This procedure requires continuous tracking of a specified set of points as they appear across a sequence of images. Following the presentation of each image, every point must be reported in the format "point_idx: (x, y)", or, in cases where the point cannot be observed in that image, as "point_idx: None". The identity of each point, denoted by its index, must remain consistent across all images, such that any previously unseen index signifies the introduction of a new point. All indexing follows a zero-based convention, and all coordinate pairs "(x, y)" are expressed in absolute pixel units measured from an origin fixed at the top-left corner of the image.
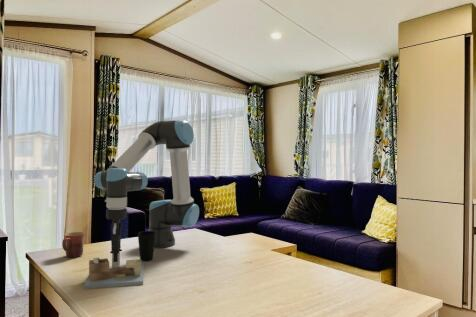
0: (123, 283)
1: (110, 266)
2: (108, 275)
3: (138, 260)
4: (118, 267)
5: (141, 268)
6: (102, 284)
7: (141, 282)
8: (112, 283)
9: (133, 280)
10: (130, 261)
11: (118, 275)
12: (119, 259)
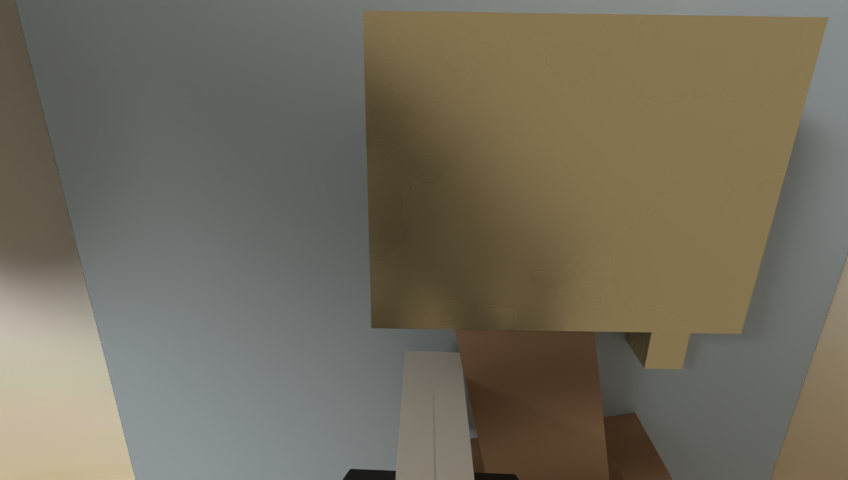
0: (837, 252)
1: (140, 432)
2: (654, 451)
3: (461, 77)
4: (479, 385)
5: (267, 11)
6: (774, 454)
7: None
8: (806, 370)
9: (832, 131)
10: (500, 252)
11: (681, 343)
12: (459, 466)
